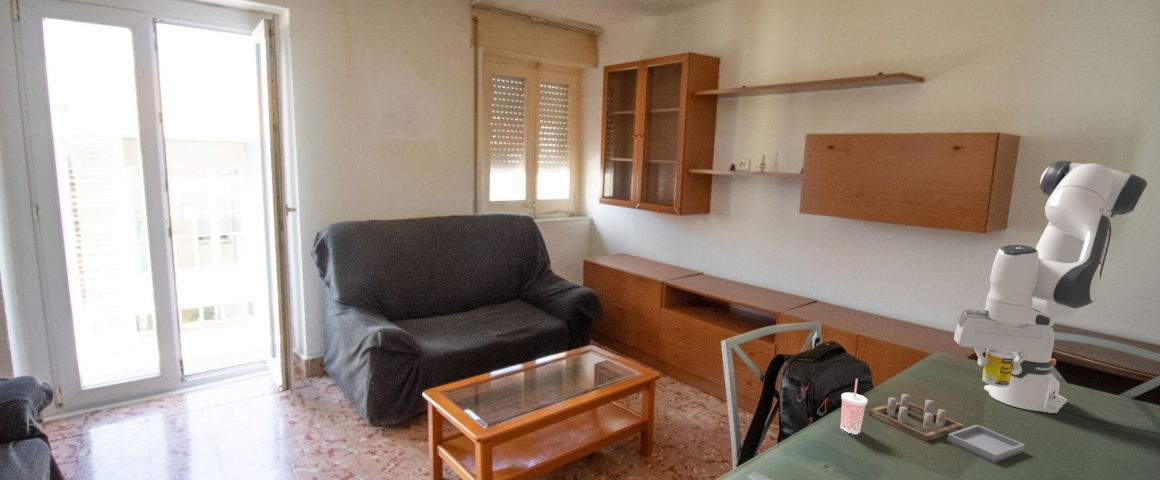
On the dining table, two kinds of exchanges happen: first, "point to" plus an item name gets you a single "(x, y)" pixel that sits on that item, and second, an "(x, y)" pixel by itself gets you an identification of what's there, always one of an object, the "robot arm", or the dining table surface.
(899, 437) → the dining table surface
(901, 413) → the wooden peg board
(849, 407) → the beverage cup
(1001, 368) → the supplement bottle
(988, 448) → the tray
